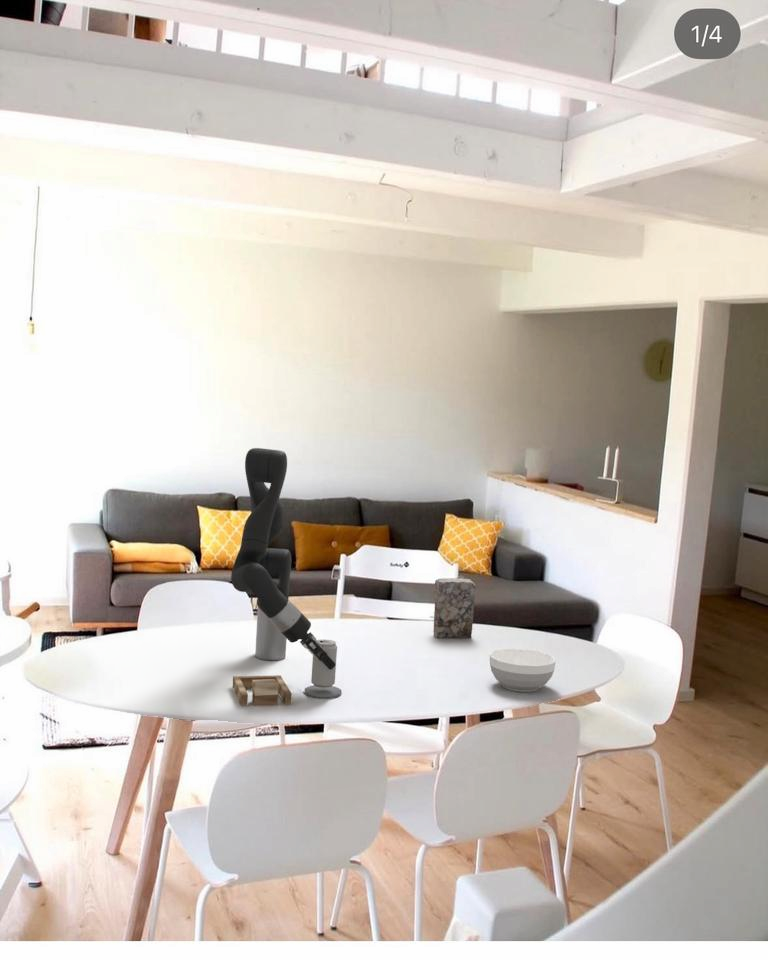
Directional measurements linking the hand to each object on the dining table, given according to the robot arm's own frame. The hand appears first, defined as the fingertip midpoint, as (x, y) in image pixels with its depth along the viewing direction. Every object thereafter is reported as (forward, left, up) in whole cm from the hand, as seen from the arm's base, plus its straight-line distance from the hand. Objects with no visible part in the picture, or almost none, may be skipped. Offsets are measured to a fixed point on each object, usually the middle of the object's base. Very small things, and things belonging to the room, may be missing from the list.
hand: (330, 663), depth 276 cm
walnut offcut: (+7, -19, -8) cm, 22 cm away
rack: (+1, -19, -8) cm, 20 cm away
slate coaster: (0, -2, -8) cm, 8 cm away
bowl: (-2, +57, -8) cm, 58 cm away
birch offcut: (+7, -19, -5) cm, 21 cm away
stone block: (-62, +57, -8) cm, 85 cm away
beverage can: (0, -2, -6) cm, 6 cm away
